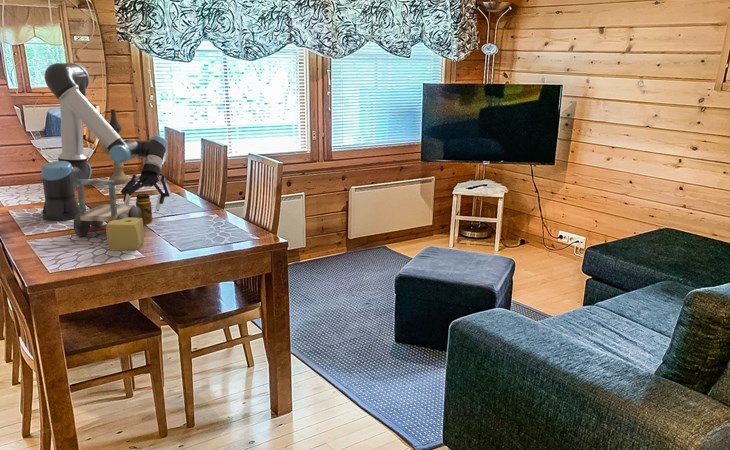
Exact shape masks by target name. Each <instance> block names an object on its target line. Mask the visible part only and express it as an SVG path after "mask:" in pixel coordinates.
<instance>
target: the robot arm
mask: <svg viewBox="0 0 730 450" xmlns="http://www.w3.org/2000/svg"><path fill="white" fill-rule="evenodd" d="M90 79H91V78H90V75H89V72H88V71H87V69H86V68H85V67H84V66H82V65H81V64H79V63H74V62H62V63H61V62H55V63H52V64H51V65H49V66H48V67H47V68H46V69H45V71H44V82H45V84H46V86H47V88H48V90H49V91H50V92H51V93H52V95H54V97H55V98H57V100H58V101H59V104H60V105H59V106H60V107H59V108H60V110H59V111H60V133H61V135H60V138H61V140H60V141H61V153H60V154H59V155H58V156H57V159H58V160H56V161H49V162H47V163H44V164H43V165H42V166H41V174H40V175H41V179H42V187H43V188H42V189H43V194H44V203H43V207H42V208H43V209H42V212H41V215H42V219H43V220H46V221H53V222H56V221H68V220H69V221H70V220H74V219H75V216H76V215H77V214H78V213H80V208H79V202H78V200H77V198H76V194H75V193H76V192H75V188H77V181H76V180H78V179H85V180H90V178H91V176H92V171H93V170H92V166H91V163H89V162H88V157H87V155H86V154H85V153H84V132H83V131H84V130H83V129H84V127H83V125H85V127H86V128H87V129H89V130H90V132H91V133H92V134H93V135H94V136H95V138H96V139H97V140H98V141H99V142H100V143H101V144H102V146H103V145H104V146H105V147H106V148H107V149H108V150H109V151H110V152H109V154H110V155H109V158H110V159H111V161H112V162H113V163H114V162H116V163H122V164H123V163H126V162H128V161H131V160H133V159H135V158H144V159H143V160H144V161H143V165H142V169H141V173H140V176H139V175H136V174H132V177H131V179H130V181H129V182H128V183H127V184H125V186H123V188H122V189H121V191H120V193H121V195H122V196H123V199H122V200H123V205H130V202H131V198H132V196H131V195H133V194H134V193H135V192H137V191H138V190H140V189H141V188H143V187H146V188H147V187H149V188H151V187H154V188H155V189H156V190H157V192H158V193H159V194H158V196H157V200H156V205H155V209H156V210H155V211H157V212H160V211H161V210H160V209H161V206H162V205H163V204H164V202H165V199H166V197H167V198H168V197H169V198H170V195H171V194H170V192H169V190H168V187H167V184H166V181H167V179H166V177H165V175H162V176H160V175H161V171H162V167H163V162H164V158H165V155H166V151H167V145H168V141H167V140H166V138H164V137H163V136H160V135H153V136H150V138H149V140H138V139H123V138H121V137H122V136H119V134H120V133H119V134H118V133H117V132H116V131H115V130H114V129H113V128H112V127H111V126H110V122H108V121H107V119H105V118H104V117H103V115H102V114H101V113H100V112H99V111H98V110H97V108H95V106H94V105H93V104H92V103H91V102H90V101H89V99H88V98H87V97H86V96H87V93H86V91H87V90H86V89H87V88H88V87H89V85H90V81H91V80H90ZM159 181H160V183H161V185H162V188H163V190H162V189H161V188H160V186H159V185H158V184H157V183H159Z"/></svg>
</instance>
